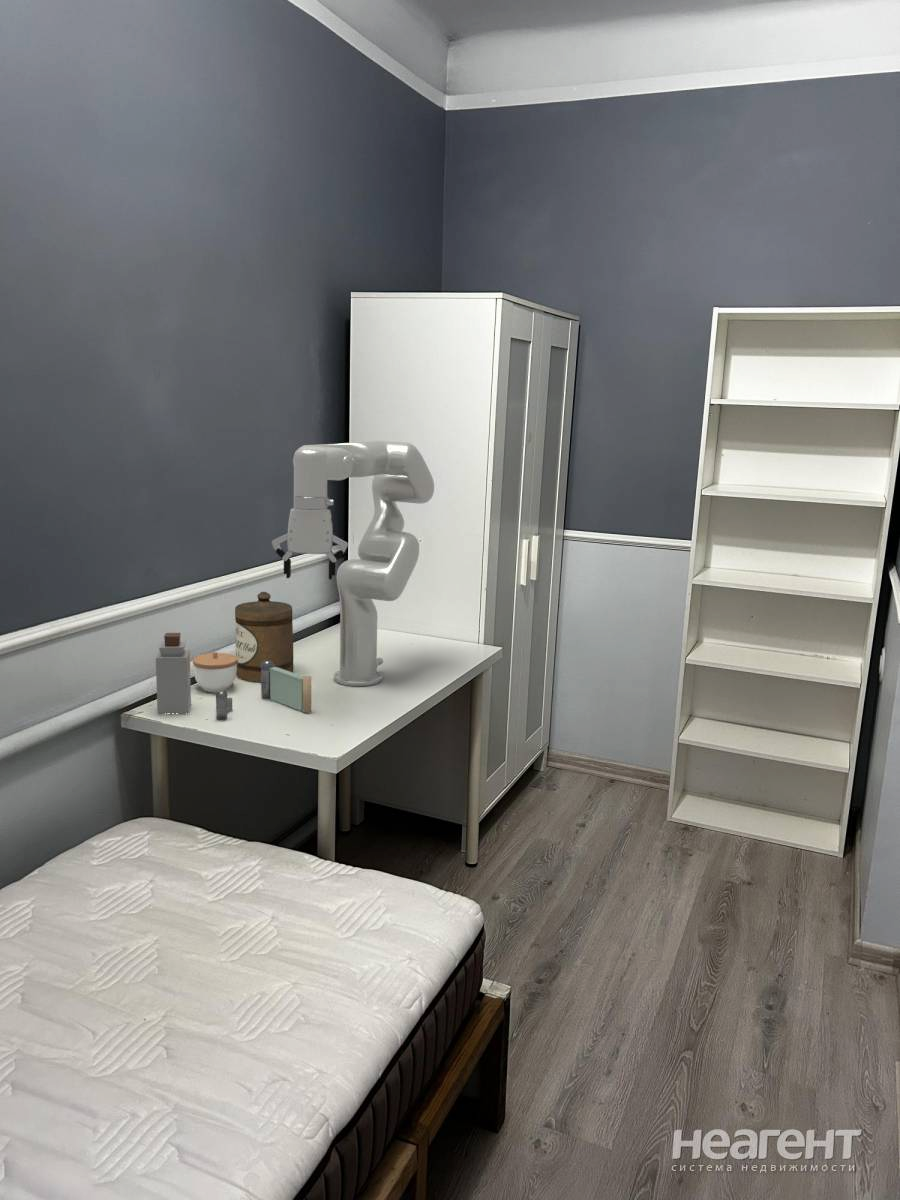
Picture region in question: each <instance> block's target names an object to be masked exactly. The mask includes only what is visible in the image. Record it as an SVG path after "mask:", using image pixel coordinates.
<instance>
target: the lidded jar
mask: <svg viewBox="0 0 900 1200" xmlns="http://www.w3.org/2000/svg"><path fill="white" fill-rule="evenodd" d="M237 662H238V659H237V657H236V655H234V654H232V653H227V652H218V651H213V652H209V653H204V654H199V655H197V656H194V658H193V659H192V664H193V673H194V678H195V679H194V680H196V682H197V684H198V686H200V687H201V688H202V690H203V689H204V690H205V692H207V691H208V692H207V693H217V692H218V691H225V690H226V691H228V690H229V687H230V686H232V684H233V683H234V682H235V679H236V677H237V675H236V674H237ZM204 690H203V691H204ZM226 691H225V692H226Z"/></svg>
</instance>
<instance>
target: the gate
mask: <svg viewBox="0 0 900 1200" xmlns="http://www.w3.org/2000/svg"><path fill="white" fill-rule="evenodd" d="M270 700H271V701H273V702H277V703H279V704H282V705H286V706H288V707H289V708H293V709H295V710H298V711H301V712H303V713H307V714H309V713H311V712H312V677H311V676H304V675H300V674H299V673H296V672H295V673H294V672H293V673H292V672H289V671H286V670H284V669H281V668H278V667H273V668H270Z"/></svg>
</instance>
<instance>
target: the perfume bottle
mask: <svg viewBox="0 0 900 1200" xmlns="http://www.w3.org/2000/svg"><path fill="white" fill-rule="evenodd" d="M163 638H164V639H163V640H162V641H161V642H160V644H159V647H158V649H159V650H158V652H157V654H156V656H155V674H156V675H155V676H156V678H155V679H156V703H157V704H156V705H157V710H156V711H157V715H158V714H165V713H166V714H167V713H170V714H172V713H174V714H176V713H178V714H179V715H189V714H190V710H191V707H190V706H192V692H191V691H192V689H191V686H192V685H191V651H190V649H185V648H186V643H187V640H181V632H166V633H165V634H164V636H163ZM189 709H190V710H189ZM186 713H187V714H186ZM188 713H189V714H188Z"/></svg>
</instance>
